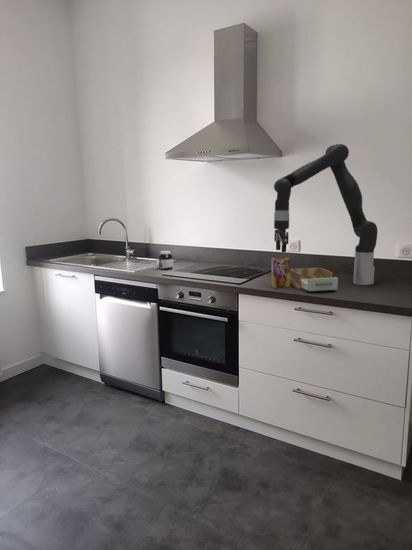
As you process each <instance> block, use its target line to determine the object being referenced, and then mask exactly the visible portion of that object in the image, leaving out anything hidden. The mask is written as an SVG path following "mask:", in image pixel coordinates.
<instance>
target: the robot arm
mask: <svg viewBox="0 0 412 550" xmlns="http://www.w3.org/2000/svg"><path fill="white" fill-rule="evenodd" d="M349 151H350V150H349V148H348V146H347V145H345V144H343V143H335V144H332V145H329V146H328V147H327V149H325V154H324V155H322V156H320V157H319V158H316V159H315V160H312V161H310V162H308V163H306V164H304V165H303V166H300V167H299V168H297V169H294V170H293V171H292V172H291V173H289V174H287V175H285V176H282V177H281V178H279V179H278V180H276V181H275V182H274V184H273V189H274V191H275V192H276V193H277V194H276V199H275V201H274V202H275V203H274V216H273V220H274V221H273V224H274V225H273V229H275V230H274V237H273V239H274V240H273V241H274V242H275V250H276V251H280V250H281V253H286V252H287V245H289V231H287V230H289V228H290V199H291V193H292V188H294V187H295V186H298V185H301V184H303V183H304V182H306V181H308V180H310V179H311V178H313V177H314V176H316V175H317V174H319V173H321V172H323V171H324V170H326V169H329V168H330V170H331V172H332V174H333V176H334V178H335V181H336V184H337V187H338V190H339V192H340V195H341V198H342V200H343V203H344V205H345V208H346V210H347V212H348V214H349V217H350V223H351V224H352V229H353V232H354V234H355V235H356V237H358V238H359V240H358V244H357V245H355V251H354V263H353V264H354V265H353V266H354V269H353V284H354V285H358V286H371V285H374V279H375V268H376V267H375V265H374V257H375V256H374V255H375V249H376V246H377V239H378V226H377V223H375V222H373V221H370V220H367V218H366V215H365V213H364V210H363V194H362V191H361V188H360V186H359V184H358V182H357V180H356V179H355V178H354V175H352V174H351V172H350V171H349V170H348V167H347V165H346V162H345V161H346V160H347V159H348V157H349V153H350V152H349Z"/></svg>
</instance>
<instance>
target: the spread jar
mask: <svg viewBox="0 0 412 550" xmlns="http://www.w3.org/2000/svg"><path fill="white" fill-rule="evenodd" d="M157 257H158V258H155V260H154V263H153V270H158V268H159V269H160V270H162V271H170V270H172V269H173V268H174V257H173V255H172V253H171V250H160V251H159V254H158V256H157Z"/></svg>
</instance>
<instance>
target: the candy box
mask: <svg viewBox="0 0 412 550" xmlns="http://www.w3.org/2000/svg"><path fill="white" fill-rule="evenodd" d="M270 261H271V262H270V264H271V270H270V271H271V272H270V273H271V276H270V277H271V280H270V281H271V282H270V283H271V284H270V285H271V287H272V288H273V289H274V288H275V289H278V288H279V289H280V288H281V289H282V288H290V284H289V283H290V269H291V266H290V265H291V262H290V261H291V259H290V258H289V257H287V256H286V257H272V258H271V260H270Z"/></svg>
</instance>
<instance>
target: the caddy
mask: <svg viewBox="0 0 412 550" xmlns="http://www.w3.org/2000/svg"><path fill="white" fill-rule="evenodd" d="M314 278H333V271H330V270H328V269H325V268H322V267H308V268H307V267H305V268H290V283H289V286H290V285H291V286H292V287H294V288H296V289H297V290H305V289H304V288H302V287H301V279H314Z"/></svg>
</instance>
